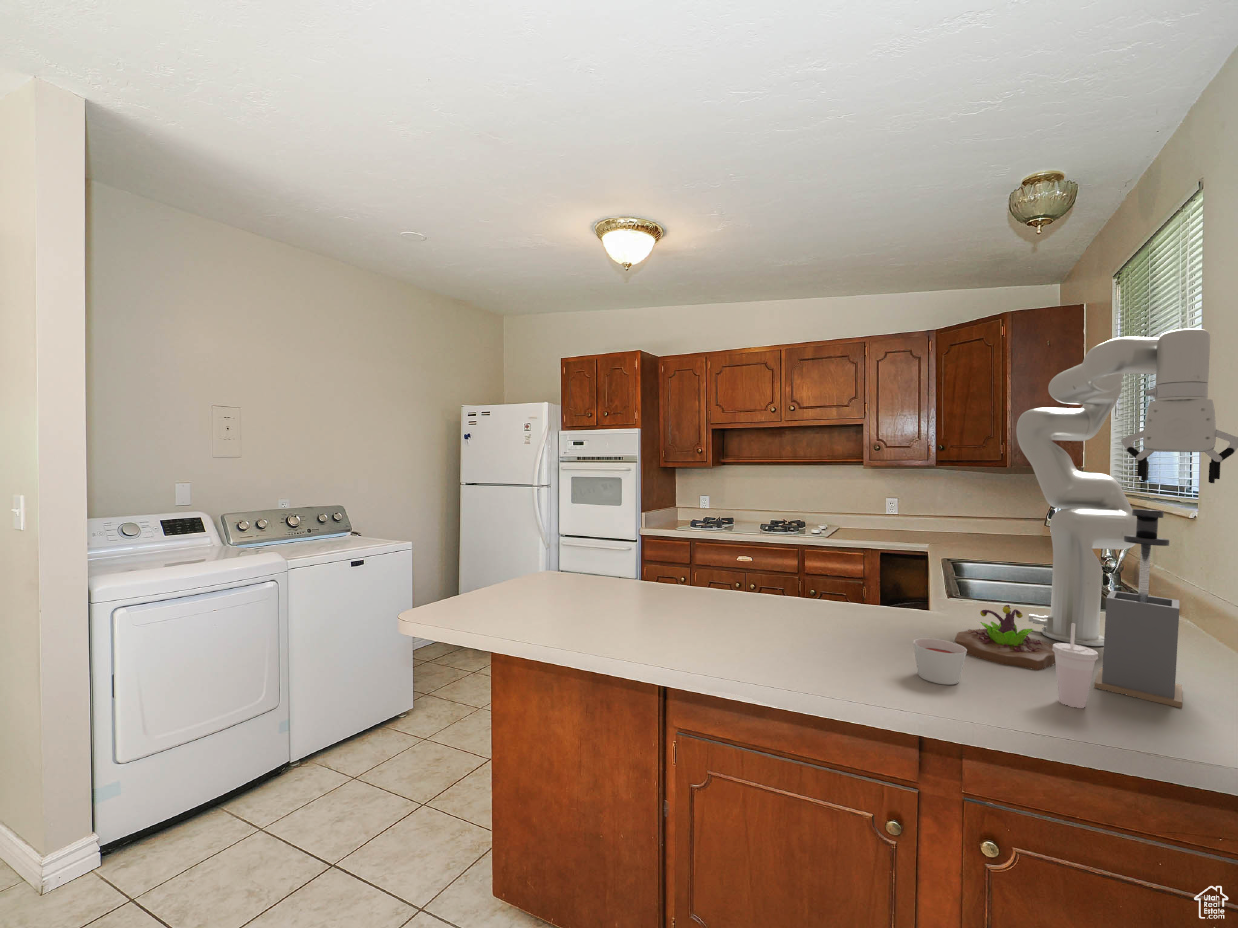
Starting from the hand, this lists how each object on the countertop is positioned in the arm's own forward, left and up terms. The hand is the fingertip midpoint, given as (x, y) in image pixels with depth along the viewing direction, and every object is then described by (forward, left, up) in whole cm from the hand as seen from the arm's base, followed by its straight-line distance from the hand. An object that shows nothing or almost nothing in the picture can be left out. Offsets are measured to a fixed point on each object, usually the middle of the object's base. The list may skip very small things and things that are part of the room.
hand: (1177, 481), depth 117 cm
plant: (-26, -4, -40) cm, 48 cm away
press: (-4, -10, -39) cm, 41 cm away
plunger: (-4, -10, -30) cm, 32 cm away
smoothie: (-12, -29, -39) cm, 50 cm away
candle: (-32, -34, -39) cm, 61 cm away
